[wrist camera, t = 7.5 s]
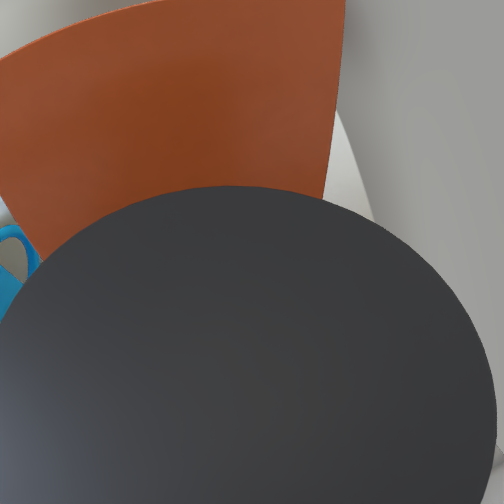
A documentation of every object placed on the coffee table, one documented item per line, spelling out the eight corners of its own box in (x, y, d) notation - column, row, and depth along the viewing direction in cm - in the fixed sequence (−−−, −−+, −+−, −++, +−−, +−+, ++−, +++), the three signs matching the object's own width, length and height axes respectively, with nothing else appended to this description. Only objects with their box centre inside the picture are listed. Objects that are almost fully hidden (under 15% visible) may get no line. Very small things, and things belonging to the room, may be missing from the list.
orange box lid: (346, -3, 5) (283, -8, 8) (-47, 90, 3) (11, 54, 6) (306, 281, 14) (277, 223, 17) (103, 332, 13) (102, 265, 15)
